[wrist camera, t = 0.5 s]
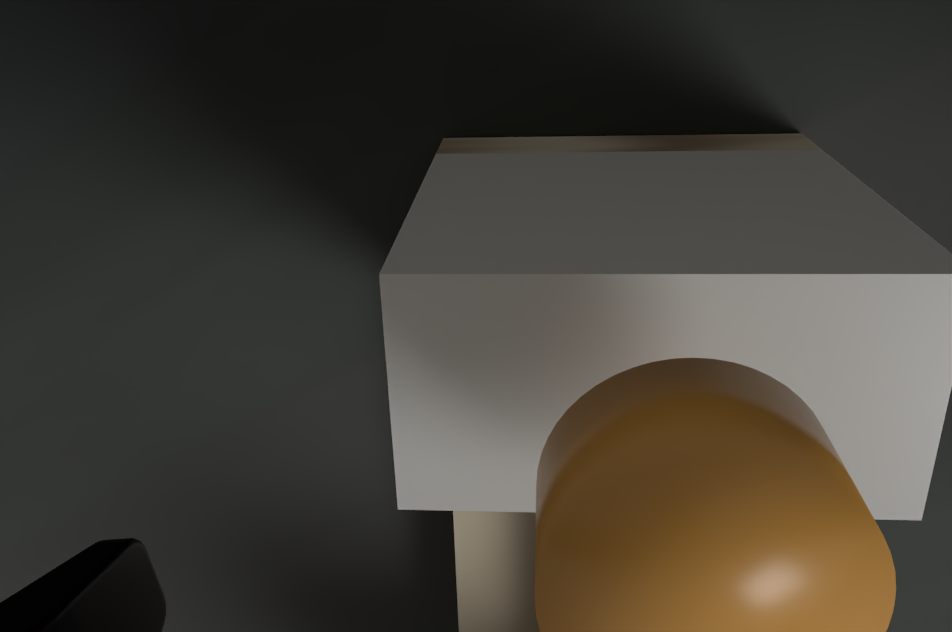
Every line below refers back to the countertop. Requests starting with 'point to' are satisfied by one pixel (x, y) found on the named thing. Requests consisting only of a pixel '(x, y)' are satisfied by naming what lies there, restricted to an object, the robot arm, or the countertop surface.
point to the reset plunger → (702, 511)
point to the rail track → (513, 533)
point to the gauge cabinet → (656, 308)
